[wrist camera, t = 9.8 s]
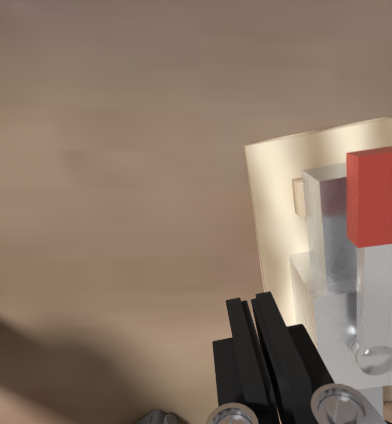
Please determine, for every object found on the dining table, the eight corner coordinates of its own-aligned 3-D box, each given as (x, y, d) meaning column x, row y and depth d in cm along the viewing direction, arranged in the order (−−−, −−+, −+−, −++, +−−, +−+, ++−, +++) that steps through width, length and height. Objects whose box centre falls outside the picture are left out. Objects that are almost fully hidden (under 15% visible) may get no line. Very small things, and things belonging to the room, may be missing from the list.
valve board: (280, 401, 37) (286, 426, 34) (242, 144, 27) (247, 148, 25) (386, 388, 36) (402, 413, 33) (384, 117, 26) (406, 118, 24)
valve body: (303, 393, 34) (327, 462, 28) (278, 170, 27) (303, 191, 20) (369, 385, 34) (410, 454, 27) (363, 154, 26) (418, 170, 19)
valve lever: (345, 152, 19) (358, 156, 17) (397, 144, 19) (415, 148, 17) (347, 362, 24) (357, 381, 22) (388, 358, 23) (401, 376, 22)
